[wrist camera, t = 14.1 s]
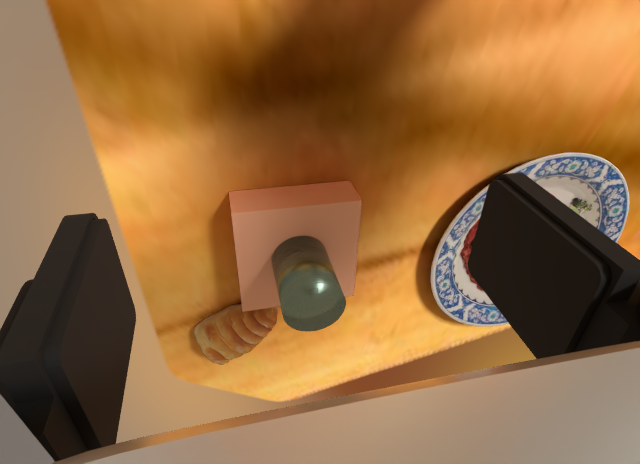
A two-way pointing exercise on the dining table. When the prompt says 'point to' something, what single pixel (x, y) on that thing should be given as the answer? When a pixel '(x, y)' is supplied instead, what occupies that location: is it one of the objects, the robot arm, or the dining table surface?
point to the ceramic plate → (562, 182)
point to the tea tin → (307, 284)
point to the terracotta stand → (293, 233)
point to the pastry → (233, 332)
